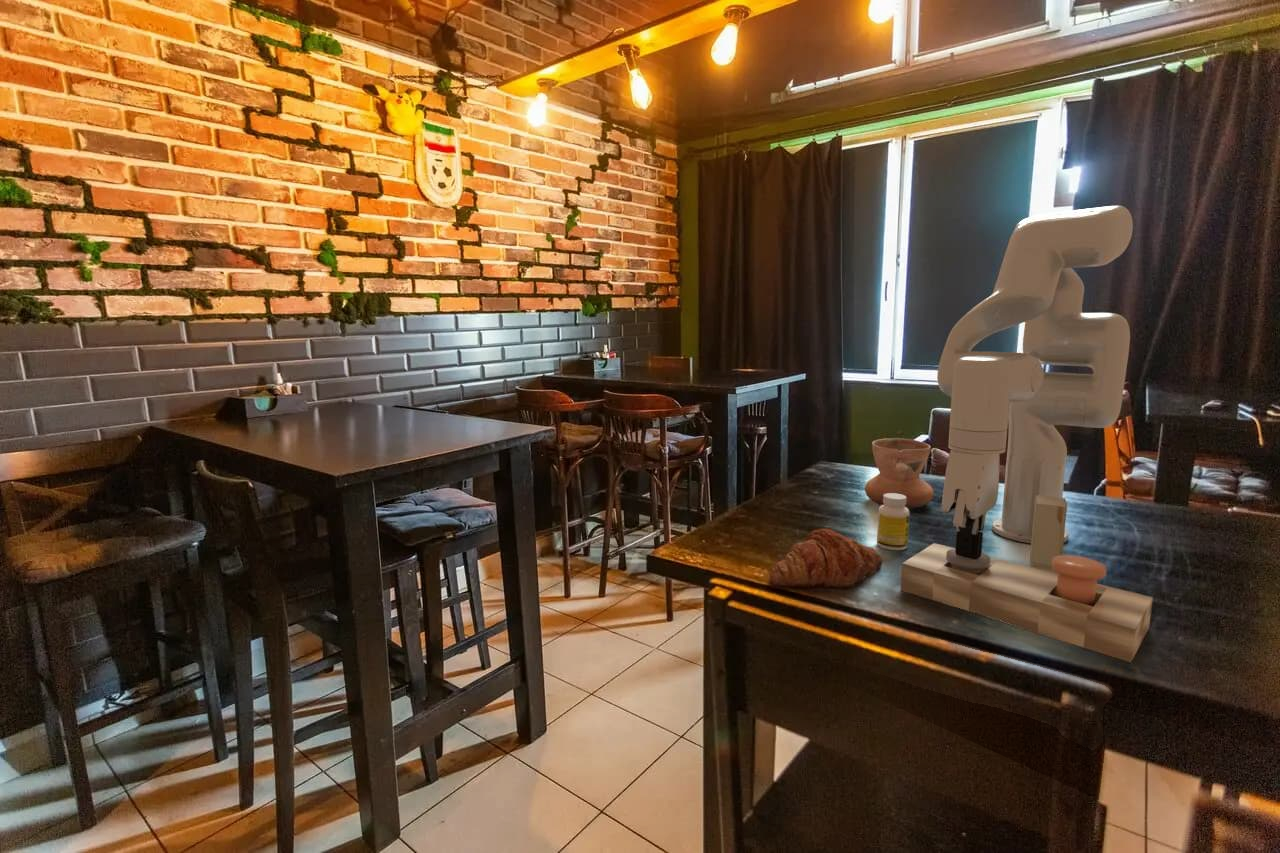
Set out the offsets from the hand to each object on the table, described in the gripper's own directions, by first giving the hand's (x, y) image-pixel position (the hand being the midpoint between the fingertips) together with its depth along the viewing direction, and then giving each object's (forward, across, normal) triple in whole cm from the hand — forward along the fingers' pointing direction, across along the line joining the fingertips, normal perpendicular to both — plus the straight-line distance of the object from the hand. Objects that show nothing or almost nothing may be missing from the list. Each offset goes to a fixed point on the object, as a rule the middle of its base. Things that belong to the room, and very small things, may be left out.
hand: (968, 555), depth 94 cm
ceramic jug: (+6, -37, -28) cm, 47 cm away
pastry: (+7, +9, -19) cm, 22 cm away
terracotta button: (+3, 0, +14) cm, 14 cm away
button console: (+6, 0, +7) cm, 9 cm away
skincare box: (+6, -18, +6) cm, 20 cm away
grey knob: (+5, 0, 0) cm, 5 cm away
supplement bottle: (+6, -11, -17) cm, 21 cm away
